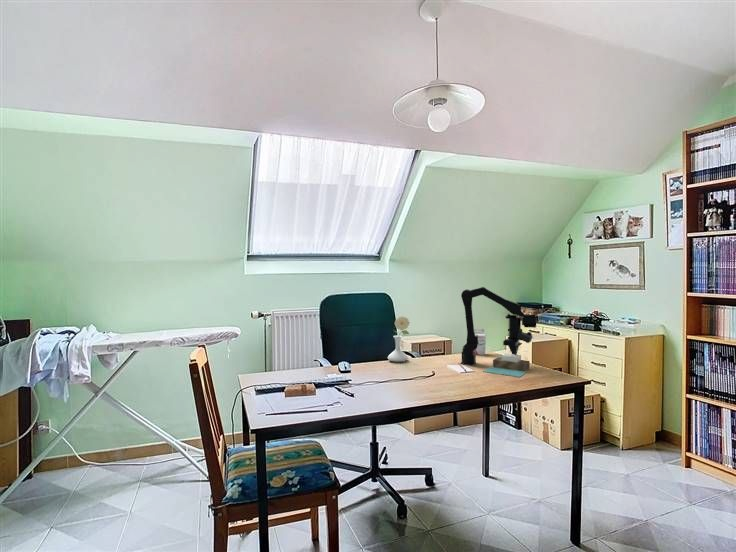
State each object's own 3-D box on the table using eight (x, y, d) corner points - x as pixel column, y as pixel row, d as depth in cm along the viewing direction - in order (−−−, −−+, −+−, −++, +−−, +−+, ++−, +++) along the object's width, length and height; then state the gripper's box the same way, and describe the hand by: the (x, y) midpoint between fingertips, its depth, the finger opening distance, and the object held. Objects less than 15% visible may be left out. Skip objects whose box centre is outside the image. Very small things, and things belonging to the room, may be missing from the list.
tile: (501, 360, 220) (501, 355, 220) (505, 358, 225) (505, 353, 225) (517, 362, 215) (517, 357, 215) (521, 360, 220) (521, 355, 220)
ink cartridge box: (470, 355, 251) (470, 329, 251) (469, 353, 256) (469, 328, 256) (485, 355, 250) (485, 330, 250) (484, 353, 255) (484, 328, 255)
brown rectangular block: (493, 367, 221) (493, 359, 221) (498, 364, 228) (498, 357, 227) (524, 372, 212) (524, 364, 211) (529, 368, 218) (529, 360, 218)
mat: (482, 371, 213) (482, 371, 213) (491, 367, 222) (491, 366, 222) (519, 377, 202) (519, 376, 202) (526, 372, 211) (526, 371, 211)
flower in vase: (383, 361, 236) (383, 316, 236) (393, 357, 246) (393, 314, 245) (405, 364, 230) (404, 318, 229) (414, 360, 239) (414, 315, 238)
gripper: (525, 330, 211) (525, 362, 212) (535, 326, 226) (535, 355, 227) (502, 328, 218) (502, 359, 218) (514, 324, 233) (514, 352, 234)
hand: (514, 356), depth 224 cm, fingers closed
